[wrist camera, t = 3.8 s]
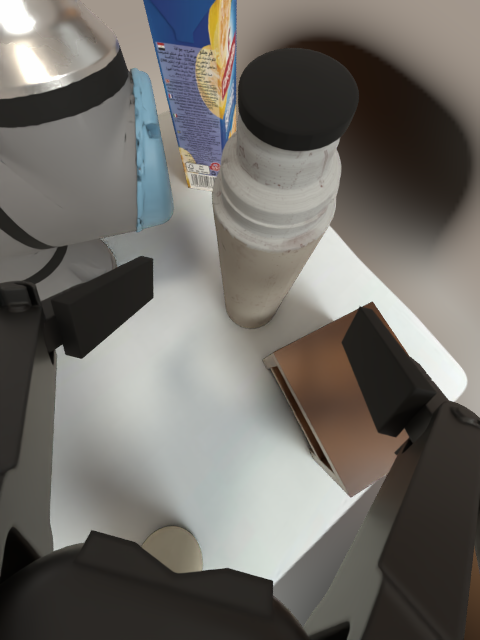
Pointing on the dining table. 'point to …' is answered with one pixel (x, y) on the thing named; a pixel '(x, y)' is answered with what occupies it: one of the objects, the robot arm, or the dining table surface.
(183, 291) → the dining table surface
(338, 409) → the box
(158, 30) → the beverage box
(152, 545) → the travel mug
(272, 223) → the thermos bottle
